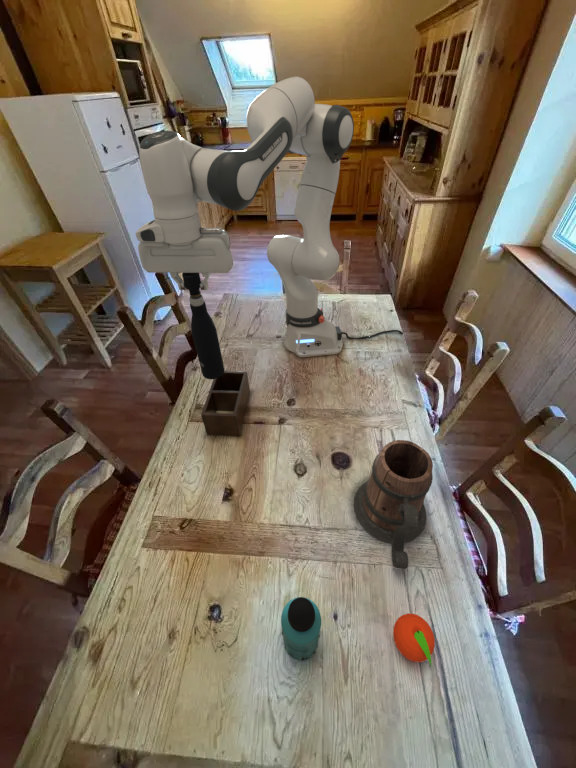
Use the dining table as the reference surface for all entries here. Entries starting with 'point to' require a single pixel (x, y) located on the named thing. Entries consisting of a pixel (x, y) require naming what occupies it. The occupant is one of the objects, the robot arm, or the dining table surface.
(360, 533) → the dining table surface
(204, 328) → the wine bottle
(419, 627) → the clementine
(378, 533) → the tankard
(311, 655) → the beverage bottle
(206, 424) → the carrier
